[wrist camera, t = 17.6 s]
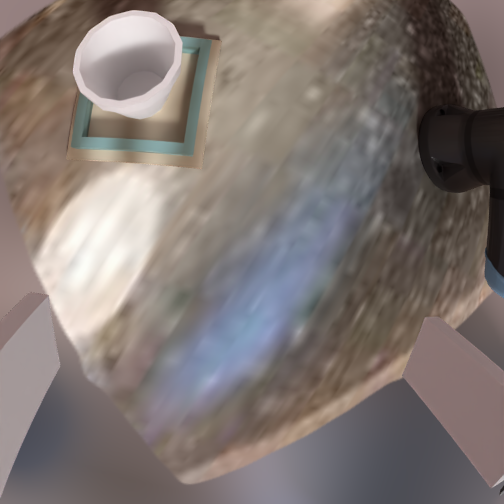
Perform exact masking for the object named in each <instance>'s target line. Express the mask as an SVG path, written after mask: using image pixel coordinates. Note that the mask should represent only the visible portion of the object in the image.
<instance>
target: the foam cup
mask: <svg viewBox="0 0 504 504" xmlns="http://www.w3.org/2000/svg"><path fill="white" fill-rule="evenodd" d="M182 45H183V42H182V40H181V38H180V36H179V34H178V32H177V30H176V28H175V26H174V24H172V23H171V22H169V21H168V20H166V19H165V18H163V17H162V16H160V15H159V14H157V13H154V12H146V11H138V10H131V11H127V12H123V13H120V14H116V15H112V16H109V17H108V18H106V19H105V20H103V21H102V22H101V23H99V24H98V25H96V26H95V27H94V28H92V29H91V30H89V32H88V33H87V35H86V36H85V38H84V39H83V41H82V42H81V44H80V45H79V47H78V48H77V50H76V54H75V60H74V67H73V74H74V77H75V80H76V82H77V85H78V88H79V90H80V92H81V93H82V94H83V95H84V96H85V97H87V98H88V99H89V100H90V101H92V102H93V103H94V104H96V105H97V106H98V107H100V108H101V109H102V110H104V111H111V112H116V113H118V114H121V115H124V116H126V117H129V118H135V119H144V118H148V117H152V116H153V115H154V114H156V113H157V112H158V111H160V110H161V109H162V107H163V106H164V104H165V102H166V100H167V98H168V96H169V94H170V91H171V89H172V87H173V85H174V83H175V82H176V80H177V78H178V77H179V75H180V73H181V60H182Z"/></svg>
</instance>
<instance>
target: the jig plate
mask: <svg viewBox="0 0 504 504" xmlns="http://www.w3.org/2000/svg"><path fill="white" fill-rule="evenodd" d="M180 38H181V40H182V42H183V45H182V60H181V73H180V75H179V77H178V78H177V80H176V82H175V83H174V85H173V87H172V89H171V91H170V94H169V96H168V98H167V100H166V102H165V104H164V106H163V107H162V109H161V110H160V111H158V112H157V113H156V114H154V115H153V116H152V117H148V118H144V119H135V118H129V117H126V116H124V115H121V114H118V113H116V112H111V111H104V110H102V109H101V108H100V107H98V106H97V105H96V104H94V103H93V102H92V101H90V100H89V99H88V98H87V97H85V96H84V95H83V94H82V93H81V92H80V90H79V88H78V92H77V97H76V102H75V107H74V112H73V118H72V124H71V130H70V136H69V143H68V150H67V158H66V159H67V160H87V161H109V162H126V163H141V164H154V165H166V166H177V167H188V168H197V169H202V165H203V157H204V149H205V142H206V135H207V128H208V121H209V114H210V108H211V101H212V95H213V89H214V83H215V77H216V71H217V65H218V59H219V54H220V48H221V43H222V41H219V40H212V39H204V38H196V37H186V36H180Z"/></svg>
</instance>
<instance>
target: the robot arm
mask: <svg viewBox="0 0 504 504" xmlns="http://www.w3.org/2000/svg"><path fill="white" fill-rule="evenodd" d="M419 149H420V155H421V159H422V163H423V165H424V168H425V170H426V172H427V174H428V176H429V178H430V179H431V180H432V182H433V183H434V184H435V185H436V186H437V187H439V188H440V189H442V190H444V191H447V192H455V193H461V192H465V191H468V190H471V189H474V188H477V187H479V186H482V185H490V202H489V223H488V236H487V247H486V248H485V257H486V261H485V278H486V280H487V283H488V285H489V286H490V287H491V289H492V290H493V291H494V292H496V293H497V294H498V295H500V296H501V297H503V298H504V107H503V108H494V109H486V110H478V111H474V110H471V109H467V108H464V107H460V106H456V105H451V104H446V105H440V106H436V107H433V108H432V109H430V110H429V111H428V112H427V113H426V115H425V116H424V118H423V120H422V123H421V127H420V132H419ZM59 367H60V361H59V356H58V351H57V346H56V340H55V335H54V329H53V323H52V316H51V309H50V301H49V295H45V294H39V293H32V292H29V293H28V294H27V295H26V296H25V297H24V298H23V299H22V300H21V301H20V302H19V303H18V304H17V305H16V306H15V307H14V308H13V309H12V310H11V311H10V312H9V313H8V314H7V315H6V316H5V317H4V318H3V319H2V320H1V321H0V497H1V495H2V492H3V489H4V486H5V484H6V481H7V478H8V476H9V473H10V471H11V468H12V466H13V464H14V461H15V459H16V456H17V454H18V452H19V449H20V447H21V445H22V442H23V440H24V438H25V436H26V433H27V431H28V429H29V427H30V424H31V423H32V420H33V418H34V416H35V414H36V412H37V410H38V408H39V406H40V404H41V402H42V400H43V398H44V396H45V394H46V392H47V390H48V388H49V386H50V384H51V382H52V380H53V379H54V377H55V375H56V373H57V371H58V369H59ZM402 376H403V377H404V378H405V380H406V381H407V382H408V383H409V384H410V386H411V387H412V388H413V389H414V390H415V392H416V393H417V394H418V395H419V397H420V398H421V399H422V400H423V402H424V403H425V404H426V405H427V407H429V409H430V410H431V412H432V413H433V414H434V415H435V416H436V418H437V419H438V420H439V421H440V423H441V424H442V425H443V427H444V428H445V429H446V430H447V432H448V433H449V434H450V435H451V437H452V438H453V439H454V441H455V442H456V443H457V444H458V446H459V447H460V448H461V450H462V451H463V452H464V454H465V455H466V456H467V457H468V459H469V460H470V461H471V463H472V464H473V465H474V467H475V468H476V469H477V470H478V472H479V473H480V475H481V476H482V477H483V479H484V480H485V481H486V483H487V484H488V485H489V487H490V488H492V487H494V486H495V485H497V484H499V483H500V482H502V481H503V480H504V371H503V370H502V369H501V368H500V367H498V366H497V365H496V364H495V363H494V362H493V361H492V360H490V359H489V358H488V357H487V356H486V355H484V354H483V353H482V352H481V351H480V350H479V349H477V348H476V347H475V346H474V345H473V344H471V343H470V342H469V341H468V340H467V339H465V338H464V337H463V336H462V335H461V334H459V333H458V332H457V331H456V330H454V329H453V328H452V327H451V326H449V325H448V324H447V323H446V322H444V321H443V320H442V319H441V318H439V317H425V319H424V322H423V324H422V327H421V330H420V332H419V335H418V338H417V340H416V343H415V345H414V348H413V351H412V353H411V355H410V358H409V360H408V363H407V365H406V367H405V370H404V372H403V374H402ZM503 493H504V486H503V488H502V489H501V490H500V495H502V494H503Z"/></svg>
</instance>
